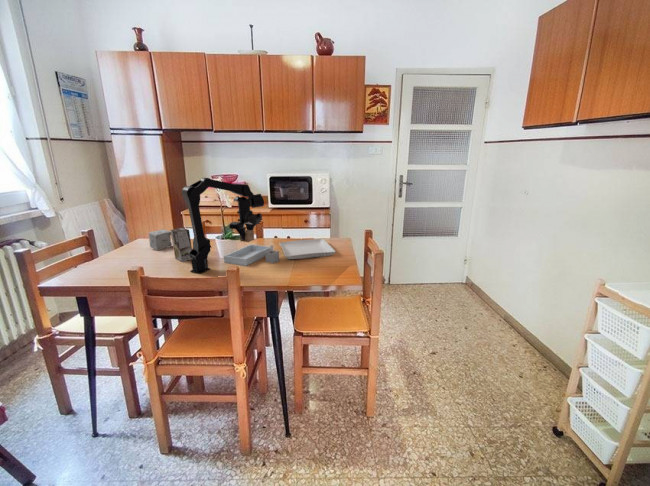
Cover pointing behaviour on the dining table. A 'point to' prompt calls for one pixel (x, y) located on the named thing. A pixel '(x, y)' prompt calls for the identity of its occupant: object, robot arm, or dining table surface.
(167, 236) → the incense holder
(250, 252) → the tray
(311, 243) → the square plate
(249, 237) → the walnut block
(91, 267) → the dining table surface
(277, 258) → the gauged block
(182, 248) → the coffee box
